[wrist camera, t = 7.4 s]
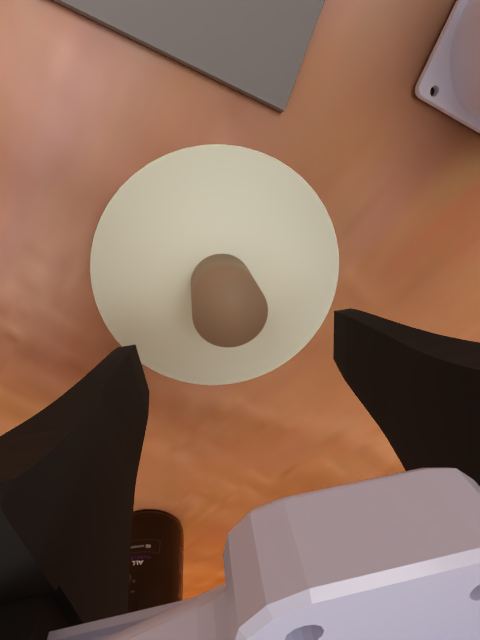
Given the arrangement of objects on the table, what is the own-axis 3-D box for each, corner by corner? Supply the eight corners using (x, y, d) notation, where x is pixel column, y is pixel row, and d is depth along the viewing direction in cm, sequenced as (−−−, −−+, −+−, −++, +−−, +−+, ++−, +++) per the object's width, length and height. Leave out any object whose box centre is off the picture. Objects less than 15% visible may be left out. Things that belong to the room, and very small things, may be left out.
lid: (335, 132, 16) (393, 119, 12) (329, 357, 22) (366, 407, 17) (59, 160, 15) (4, 158, 10) (129, 391, 20) (113, 454, 16)
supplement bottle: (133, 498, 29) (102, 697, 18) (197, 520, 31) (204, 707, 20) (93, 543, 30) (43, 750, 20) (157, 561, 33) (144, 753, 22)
